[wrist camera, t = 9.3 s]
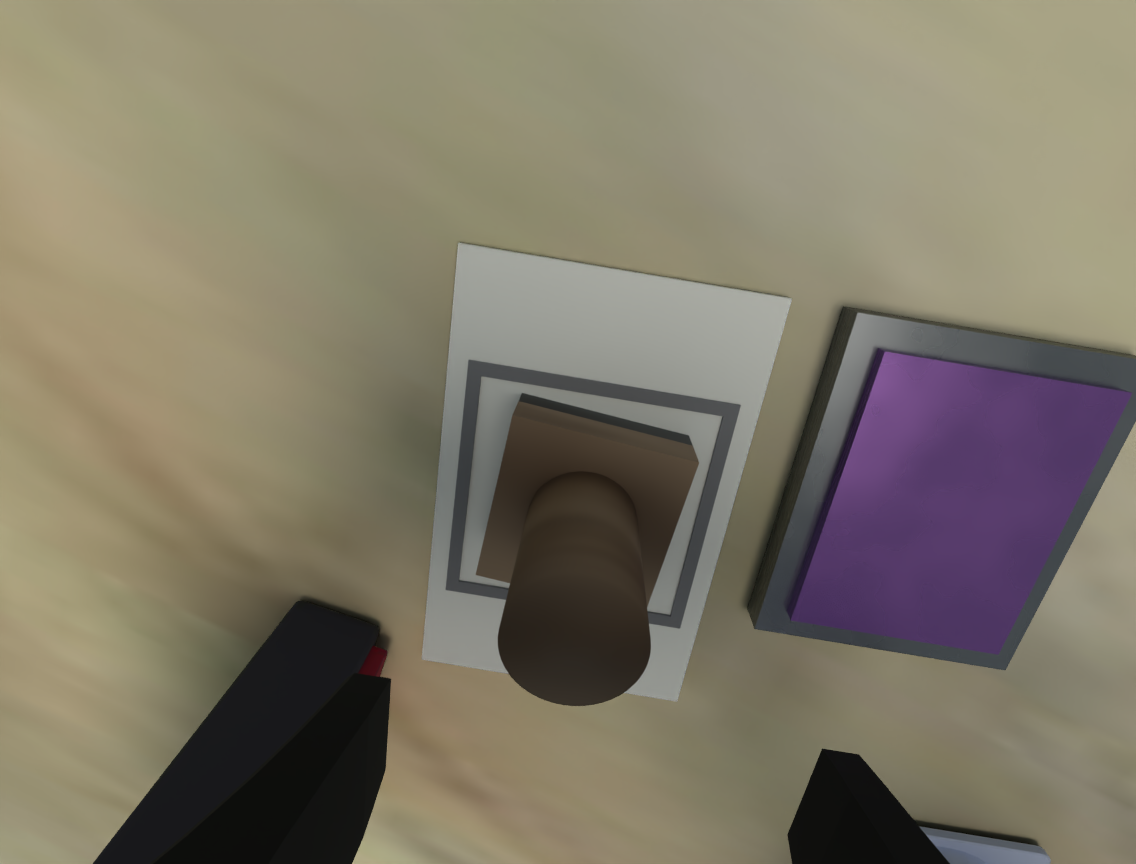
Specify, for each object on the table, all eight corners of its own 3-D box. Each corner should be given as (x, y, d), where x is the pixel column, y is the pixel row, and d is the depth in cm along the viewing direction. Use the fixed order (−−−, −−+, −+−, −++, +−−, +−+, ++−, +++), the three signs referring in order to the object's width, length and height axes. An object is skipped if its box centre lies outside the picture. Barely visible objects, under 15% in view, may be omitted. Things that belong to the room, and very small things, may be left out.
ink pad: (986, 648, 20) (1013, 679, 19) (747, 609, 20) (757, 637, 19) (1133, 355, 16) (1179, 367, 15) (843, 306, 16) (864, 315, 15)
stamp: (639, 576, 19) (658, 765, 13) (487, 538, 19) (427, 711, 13) (688, 435, 18) (740, 571, 11) (522, 392, 17) (473, 504, 11)
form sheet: (676, 694, 21) (677, 703, 21) (423, 653, 21) (420, 661, 21) (788, 297, 16) (792, 299, 16) (460, 242, 16) (457, 243, 16)
